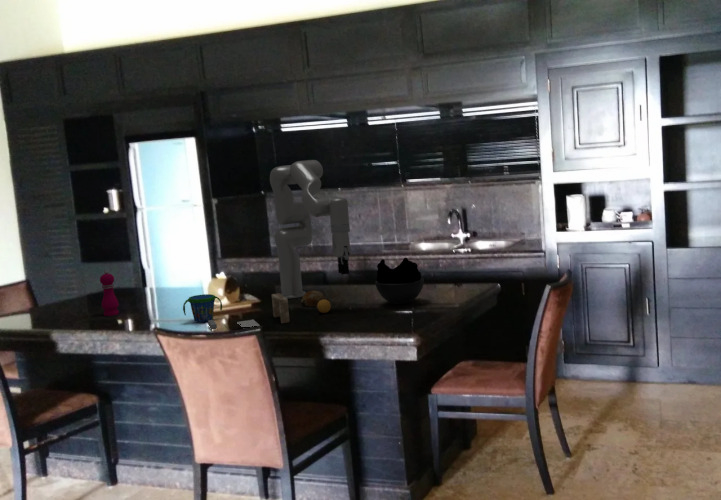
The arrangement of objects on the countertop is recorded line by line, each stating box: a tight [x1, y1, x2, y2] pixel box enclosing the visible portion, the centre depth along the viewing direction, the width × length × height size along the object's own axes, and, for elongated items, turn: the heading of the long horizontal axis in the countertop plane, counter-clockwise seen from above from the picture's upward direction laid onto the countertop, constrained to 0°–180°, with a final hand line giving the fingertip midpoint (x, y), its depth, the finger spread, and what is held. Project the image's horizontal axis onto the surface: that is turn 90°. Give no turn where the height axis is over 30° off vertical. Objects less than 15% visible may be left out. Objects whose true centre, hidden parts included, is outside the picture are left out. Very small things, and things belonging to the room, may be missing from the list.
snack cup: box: [182, 293, 223, 323], centre depth 310 cm, size 16×10×10 cm
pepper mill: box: [99, 269, 120, 317], centre depth 338 cm, size 7×7×20 cm
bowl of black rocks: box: [374, 257, 425, 305], centre depth 314 cm, size 20×20×19 cm
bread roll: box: [300, 290, 326, 308], centre depth 327 cm, size 10×10×8 cm
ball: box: [316, 298, 332, 314], centre depth 309 cm, size 6×6×6 cm
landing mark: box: [237, 319, 261, 328], centre depth 298 cm, size 12×12×1 cm
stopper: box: [207, 319, 218, 330], centre depth 296 cm, size 9×2×2 cm, turn 19°
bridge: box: [271, 292, 290, 324], centre depth 303 cm, size 3×14×9 cm, turn 19°
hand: (343, 273), depth 310 cm, fingers open, 2 cm apart
